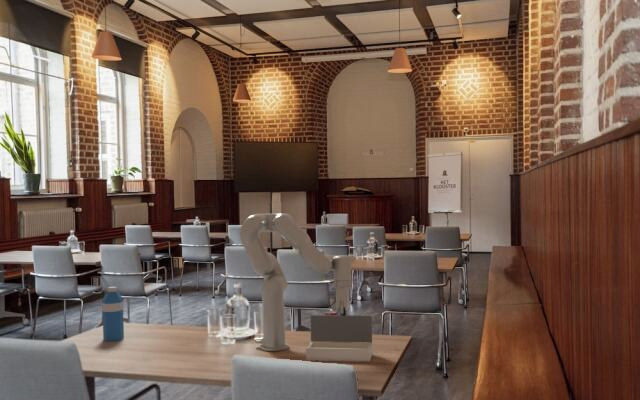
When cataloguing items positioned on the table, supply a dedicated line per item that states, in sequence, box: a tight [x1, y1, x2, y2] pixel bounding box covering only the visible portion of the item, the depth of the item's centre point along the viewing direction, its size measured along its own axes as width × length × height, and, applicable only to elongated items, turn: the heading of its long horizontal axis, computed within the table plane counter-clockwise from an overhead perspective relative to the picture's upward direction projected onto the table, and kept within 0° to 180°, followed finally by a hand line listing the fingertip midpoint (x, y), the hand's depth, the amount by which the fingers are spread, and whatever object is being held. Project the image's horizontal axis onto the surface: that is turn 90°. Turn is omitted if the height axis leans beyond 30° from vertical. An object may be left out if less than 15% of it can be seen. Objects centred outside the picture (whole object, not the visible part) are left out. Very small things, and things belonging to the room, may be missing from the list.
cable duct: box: [305, 341, 373, 363], centre depth 260 cm, size 26×11×5 cm, turn 80°
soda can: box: [323, 310, 338, 315], centre depth 296 cm, size 7×7×12 cm
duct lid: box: [310, 314, 373, 344], centre depth 266 cm, size 26×11×1 cm
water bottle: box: [101, 286, 125, 342], centre depth 302 cm, size 9×9×25 cm
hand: (343, 325), depth 273 cm, fingers closed
